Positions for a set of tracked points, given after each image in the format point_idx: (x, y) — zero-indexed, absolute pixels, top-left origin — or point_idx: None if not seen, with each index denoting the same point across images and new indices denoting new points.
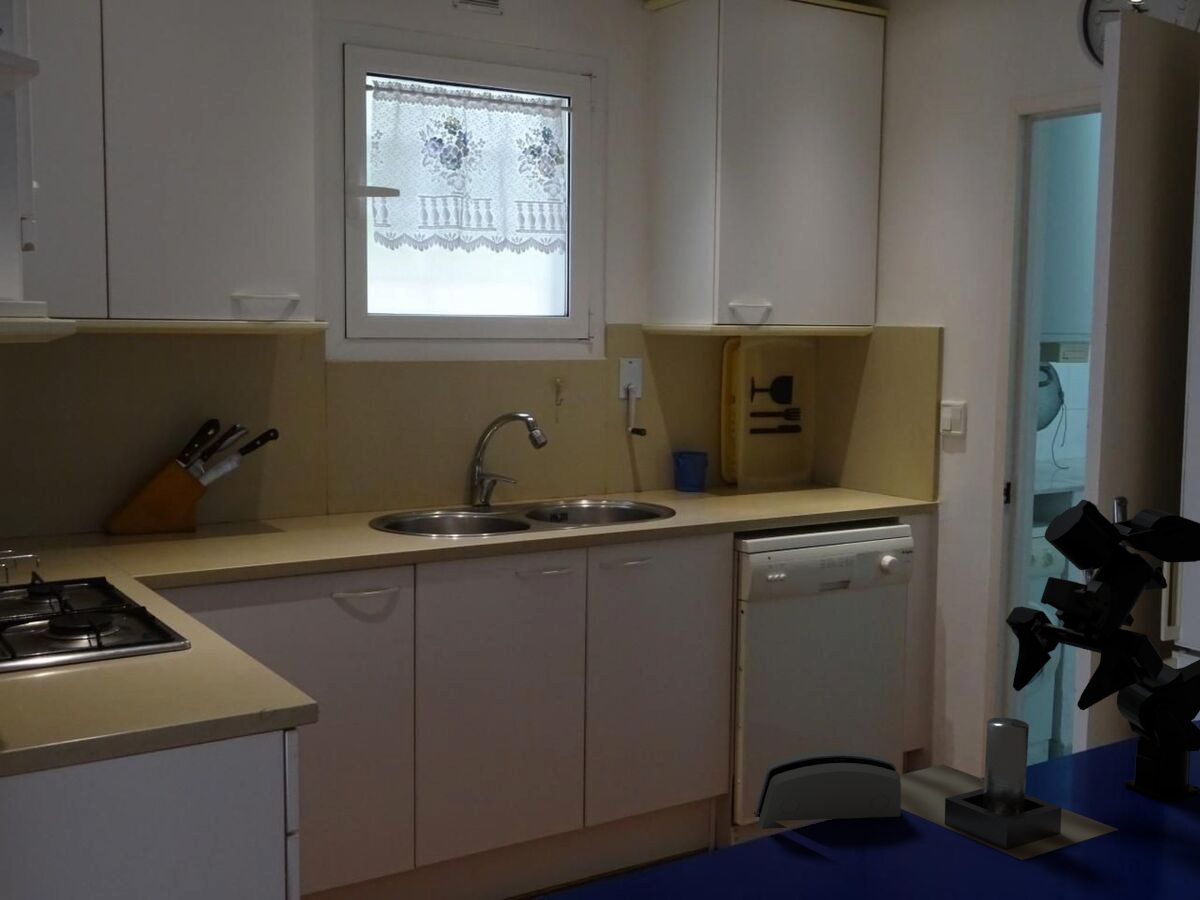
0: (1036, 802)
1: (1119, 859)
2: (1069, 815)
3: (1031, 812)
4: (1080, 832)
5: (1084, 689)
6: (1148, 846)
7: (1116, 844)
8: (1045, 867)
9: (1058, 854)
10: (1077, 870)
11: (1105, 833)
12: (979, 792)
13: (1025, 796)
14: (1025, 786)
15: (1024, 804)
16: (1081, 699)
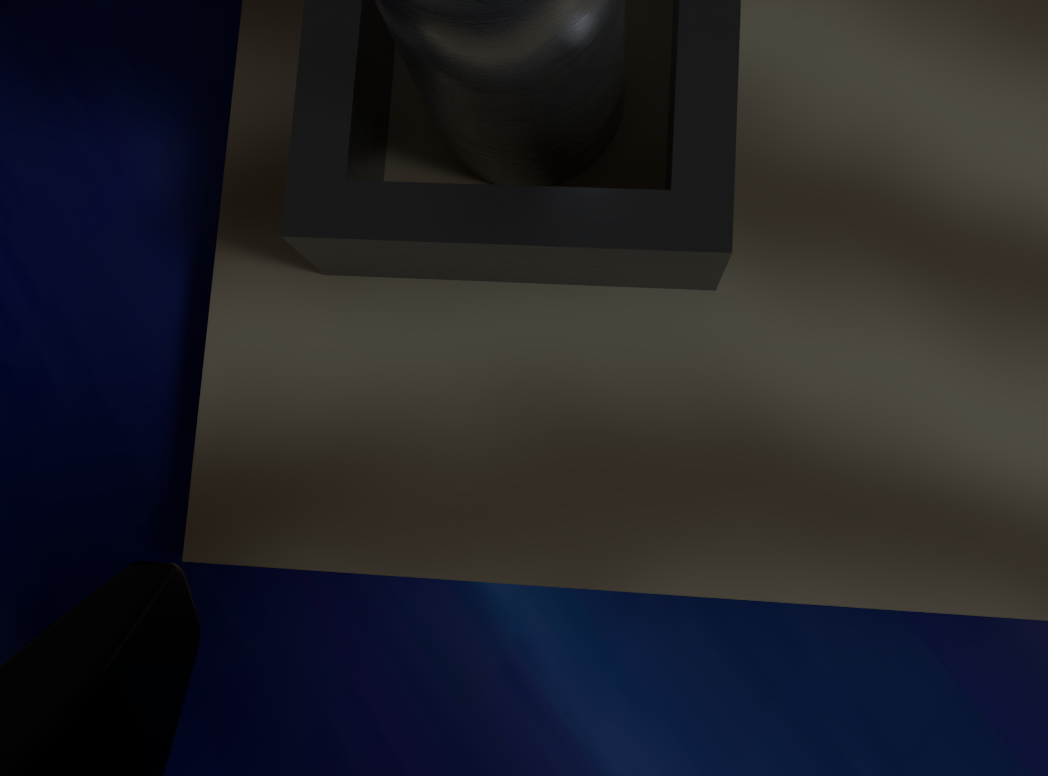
0: (408, 184)
1: (70, 339)
2: (438, 522)
3: (336, 44)
4: (273, 366)
5: (51, 722)
6: (63, 586)
7: (167, 484)
8: (219, 11)
9: None
10: (120, 93)
11: (194, 458)
12: (700, 49)
13: (504, 212)
14: (400, 50)
15: (423, 98)
16: (104, 602)
